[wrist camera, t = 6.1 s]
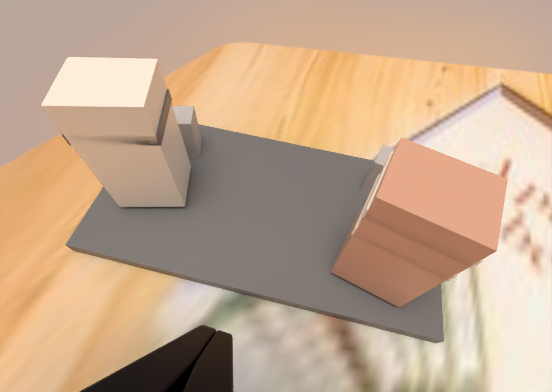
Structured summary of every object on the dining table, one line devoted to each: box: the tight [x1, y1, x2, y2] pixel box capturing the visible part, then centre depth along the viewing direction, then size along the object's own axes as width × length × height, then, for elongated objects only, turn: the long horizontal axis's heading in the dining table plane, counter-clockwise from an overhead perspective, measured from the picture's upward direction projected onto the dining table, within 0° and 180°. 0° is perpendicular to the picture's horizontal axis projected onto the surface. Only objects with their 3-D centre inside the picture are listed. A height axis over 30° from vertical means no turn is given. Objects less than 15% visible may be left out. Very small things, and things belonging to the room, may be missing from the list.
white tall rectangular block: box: [41, 57, 191, 207], centre depth 21 cm, size 4×5×10 cm
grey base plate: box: [66, 106, 444, 343], centre depth 23 cm, size 14×27×5 cm, turn 77°
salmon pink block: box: [331, 138, 507, 307], centre depth 18 cm, size 4×5×10 cm
